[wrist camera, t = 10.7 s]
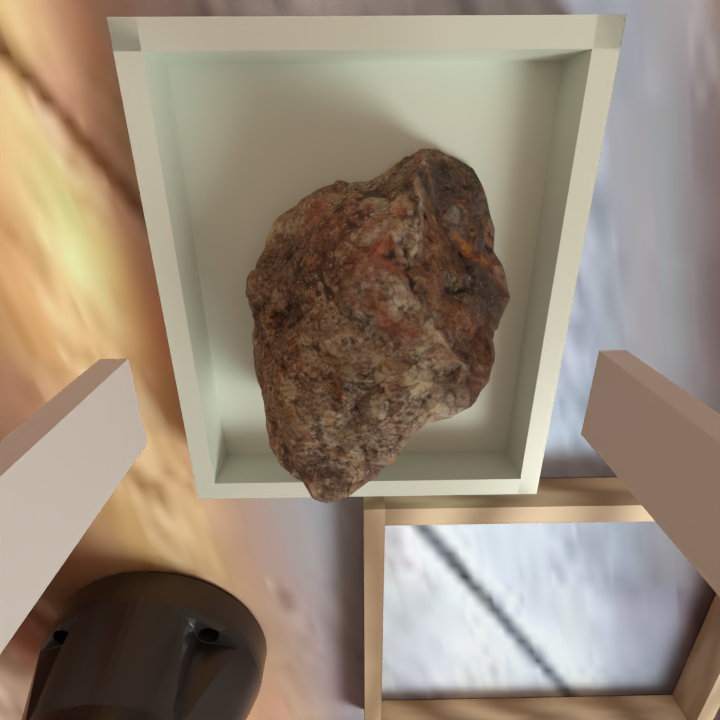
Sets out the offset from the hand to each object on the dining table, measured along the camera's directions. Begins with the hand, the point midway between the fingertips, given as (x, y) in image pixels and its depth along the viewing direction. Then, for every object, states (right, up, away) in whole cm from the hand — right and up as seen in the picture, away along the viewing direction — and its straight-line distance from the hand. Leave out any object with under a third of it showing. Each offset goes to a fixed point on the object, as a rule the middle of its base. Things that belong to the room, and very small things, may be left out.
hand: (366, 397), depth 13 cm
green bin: (0, +5, +10) cm, 11 cm away
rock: (0, +5, +10) cm, 11 cm away
